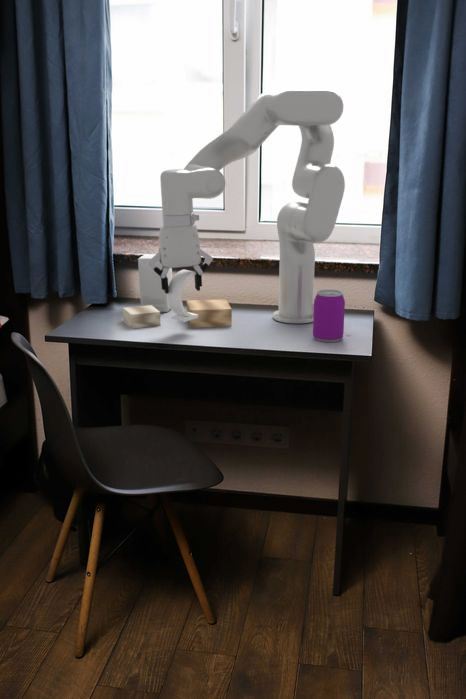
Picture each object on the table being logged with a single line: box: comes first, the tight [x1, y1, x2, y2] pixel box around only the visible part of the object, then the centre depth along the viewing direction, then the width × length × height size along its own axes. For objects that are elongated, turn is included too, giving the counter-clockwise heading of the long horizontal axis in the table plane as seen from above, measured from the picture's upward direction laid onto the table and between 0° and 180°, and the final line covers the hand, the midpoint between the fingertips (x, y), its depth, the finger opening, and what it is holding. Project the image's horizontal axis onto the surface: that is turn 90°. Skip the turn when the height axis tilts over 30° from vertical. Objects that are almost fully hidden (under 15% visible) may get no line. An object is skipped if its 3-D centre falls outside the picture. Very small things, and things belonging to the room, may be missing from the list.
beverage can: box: [312, 289, 346, 343], centre depth 200 cm, size 8×8×12 cm
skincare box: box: [137, 253, 173, 313], centre depth 228 cm, size 8×7×16 cm
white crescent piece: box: [167, 269, 198, 323], centre depth 203 cm, size 5×6×12 cm
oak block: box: [186, 298, 233, 328], centre depth 217 cm, size 11×11×5 cm
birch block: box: [122, 305, 161, 329], centre depth 215 cm, size 8×8×4 cm
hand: (182, 290), depth 202 cm, fingers closed on white crescent piece, 7 cm apart
